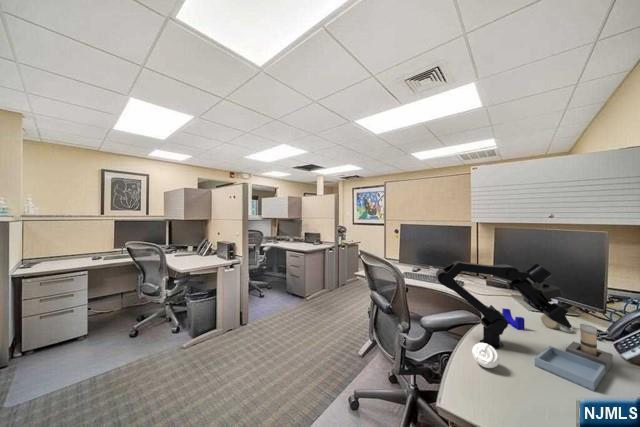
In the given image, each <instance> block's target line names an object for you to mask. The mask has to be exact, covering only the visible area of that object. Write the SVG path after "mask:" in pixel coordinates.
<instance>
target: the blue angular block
mask: <svg viewBox="0 0 640 427" xmlns="http://www.w3.org/2000/svg"><path fill="white" fill-rule="evenodd" d="M501 313H502V314H503V315H504V316H505V319H506V320H507V322H508V325H510V326H512V327H513V328H514V329H515V330H517V331H525V318H524V317H522V316H515V318H514V317H513V315H512V312H511V309H509V308H502V312H501Z"/></svg>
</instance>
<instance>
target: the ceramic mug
mask: <svg viewBox="0 0 640 427" xmlns="http://www.w3.org/2000/svg"><path fill="white" fill-rule="evenodd" d="M540 320H541V323H542V324H543V325H544V326H545V327H547V328H549V329H559V330H561V331H562V332H564V333H567V334H572V333H573V332H574V328H573V327H571V328H568V327H566V328H565V326H564V325H562V324H559V323H557V322H555V321H553V320H551V319H550V318H548V317H547V316H546V315H545V314H544V313H543V314H542V315H541V317H540Z"/></svg>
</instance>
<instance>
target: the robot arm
mask: <svg viewBox="0 0 640 427" xmlns="http://www.w3.org/2000/svg"><path fill="white" fill-rule="evenodd" d="M462 272H467V273H475V274H480V275H481V274H482V275H489V276H493V277H494V276H495V277H497V278H500V279H504V280H506V288H507V289H509V290H513V289H515V290H516V291H517V292H518V293H519V294H520V295H521V297H523V301H524V302H525V303H526V304H527V305H528V306H529V307H532V308H533V309H534V310H537V311H539V312H541V313H543V314H545V315H546V316H547V317H548V318H550V319H551V320H553V321H555V322H557V323H559V324H562V325H564V326H563V327H566V328H567V327H568V328H571V327H572V324H571V323H570V322H569V320H568V318H567V316H566V315H567V314H568V313H569V310H568V309H567V308H566V307H565V306H563V305H561V304H559V303H556V302H555V303H554V302H553V299H556V298H562V297H564V294H563V292H562V290H561V288H560V287H558V286H557V285H551V284H550V285H549V284H548V283H545V282H544V281H546V280H547V279H549V278H550V277H552V276H553V274H552V273H551V272H550V271H549V270H547V269H545V268H544V267H542V265H539V264H538V263H536V262H533V263H531V265H529V266H528V267H527V268H525V269H524V270H522V269H519V268H516V267H514V266H512V265H509V264H493V265H491V264H490V265H489V264H482V263H480V264H479V263H473V262H465V261H464V262H463V261H460V260H456V261H454V262H452V263H451V264H449V265H447V266H446V267H444V268H443V269H439V270H436V272H435V278H436V280H437V281H438V283H439V284H441V285H442V286H444V287H446V288H448V289H450V290H451V291H453V292H455V293H456V294H457V295H458V296H460V297H461V298H462V299H463V300H465V301H466V302H467V303H468V304H469V305H470V306H472V307H473V308H474V309H475V310H477V311H478V312H479V313H481V315H482V316H483V317H482V318H480V323H481V325H482V327H483V328H482V329H483V330H482V332H483V333H482V334H483V336H482V339H480V340H479V343H487V344H488V345H491V346H492V347H493V348H494V349H495V350H498V349H499V348H501V347H503V346H504V345H505V344H504V343H502V342H501V336H502V335H503V334H504V331H505V330H506V329H507V328H508V326H509V324H508V322H507V320H506V319H505V316H504V315H503V314H502V312H501V311H500V310H498V309H496V308H495V307H494V306H493V305H492V304H490V305H489V306H488V305H485V304H484V303H483V301H481V300H480V299H478V298H477V297H475V296H474V295H473V294H472V293H470V291H468V290H467V289H465V287H463V286H462V285H460V284H459V283H458V282H457V281H456V280H455V278H456V277H457V276H459V274H460V273H462ZM534 284H538V285H539V288H537V287H535V285H534ZM551 302H553V303H551ZM568 328H567V329H568ZM572 328H573V327H572Z"/></svg>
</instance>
